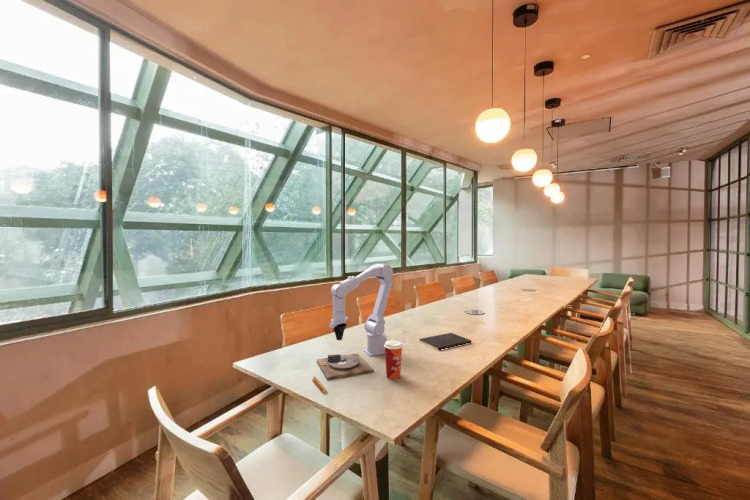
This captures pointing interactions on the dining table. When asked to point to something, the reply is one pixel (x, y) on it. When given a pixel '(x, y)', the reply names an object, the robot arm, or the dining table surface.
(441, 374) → the dining table surface
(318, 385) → the chocolate bar
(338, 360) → the dial
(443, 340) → the black spiral notebook
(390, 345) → the paper cup
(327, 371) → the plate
